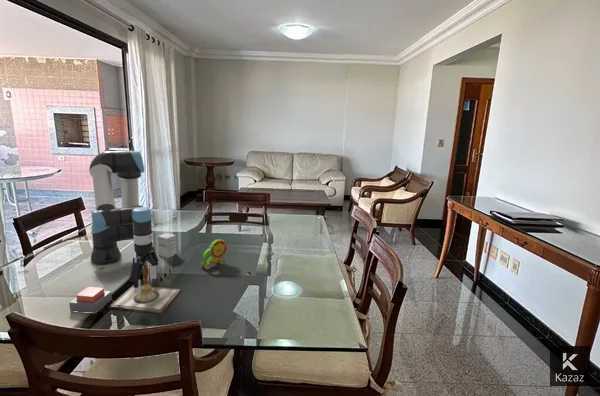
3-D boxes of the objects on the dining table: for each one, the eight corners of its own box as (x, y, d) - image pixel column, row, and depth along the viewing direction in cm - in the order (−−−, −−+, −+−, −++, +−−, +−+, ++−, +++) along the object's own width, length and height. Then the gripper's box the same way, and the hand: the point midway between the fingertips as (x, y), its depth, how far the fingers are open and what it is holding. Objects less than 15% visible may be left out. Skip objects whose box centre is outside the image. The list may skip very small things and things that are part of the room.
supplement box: (158, 255, 195) (157, 235, 192) (168, 251, 202) (167, 232, 199) (166, 258, 192) (166, 238, 189) (176, 254, 198) (176, 234, 195)
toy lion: (205, 271, 180) (205, 245, 176) (200, 267, 183) (199, 242, 180) (228, 262, 192) (228, 238, 188) (222, 259, 195) (223, 236, 192)
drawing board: (108, 308, 141) (108, 306, 141) (133, 286, 160) (133, 284, 159) (162, 313, 140) (161, 311, 140) (180, 290, 158) (180, 288, 158)
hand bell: (150, 290, 155) (149, 259, 151) (159, 296, 150) (158, 265, 146) (133, 296, 149) (130, 265, 145) (141, 304, 144) (139, 271, 140)
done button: (77, 301, 138) (76, 295, 137) (88, 292, 145) (88, 286, 144) (93, 303, 137) (92, 296, 137) (104, 294, 144) (103, 288, 144)
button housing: (70, 311, 137) (69, 302, 136) (88, 298, 148) (87, 289, 147) (95, 314, 136) (94, 304, 135) (111, 300, 147) (111, 291, 146)
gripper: (135, 254, 131) (138, 301, 136) (164, 233, 155) (166, 273, 160) (117, 252, 131) (121, 299, 136) (149, 231, 155) (151, 272, 160)
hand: (145, 285), depth 148 cm, fingers open, 13 cm apart
